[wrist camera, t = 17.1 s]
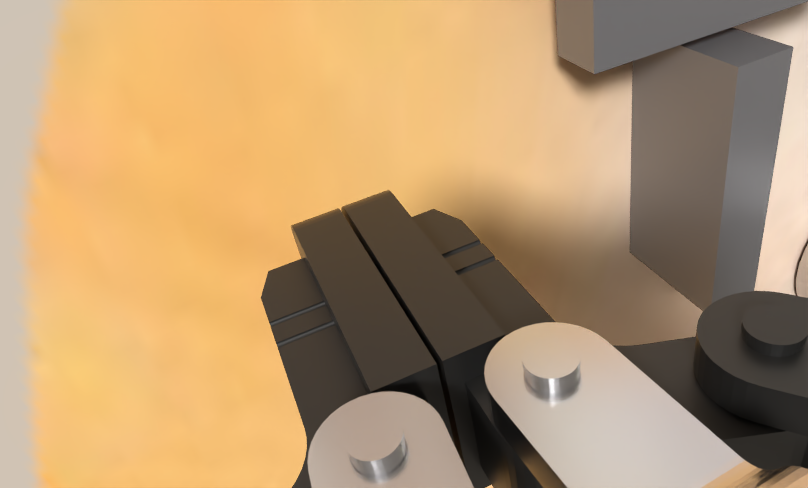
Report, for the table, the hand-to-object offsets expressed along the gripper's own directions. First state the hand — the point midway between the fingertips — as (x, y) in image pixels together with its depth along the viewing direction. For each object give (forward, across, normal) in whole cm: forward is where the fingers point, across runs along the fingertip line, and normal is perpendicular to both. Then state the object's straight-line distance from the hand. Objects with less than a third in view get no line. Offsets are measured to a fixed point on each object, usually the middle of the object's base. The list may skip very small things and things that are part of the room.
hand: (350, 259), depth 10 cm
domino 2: (+9, -14, +3) cm, 17 cm away
